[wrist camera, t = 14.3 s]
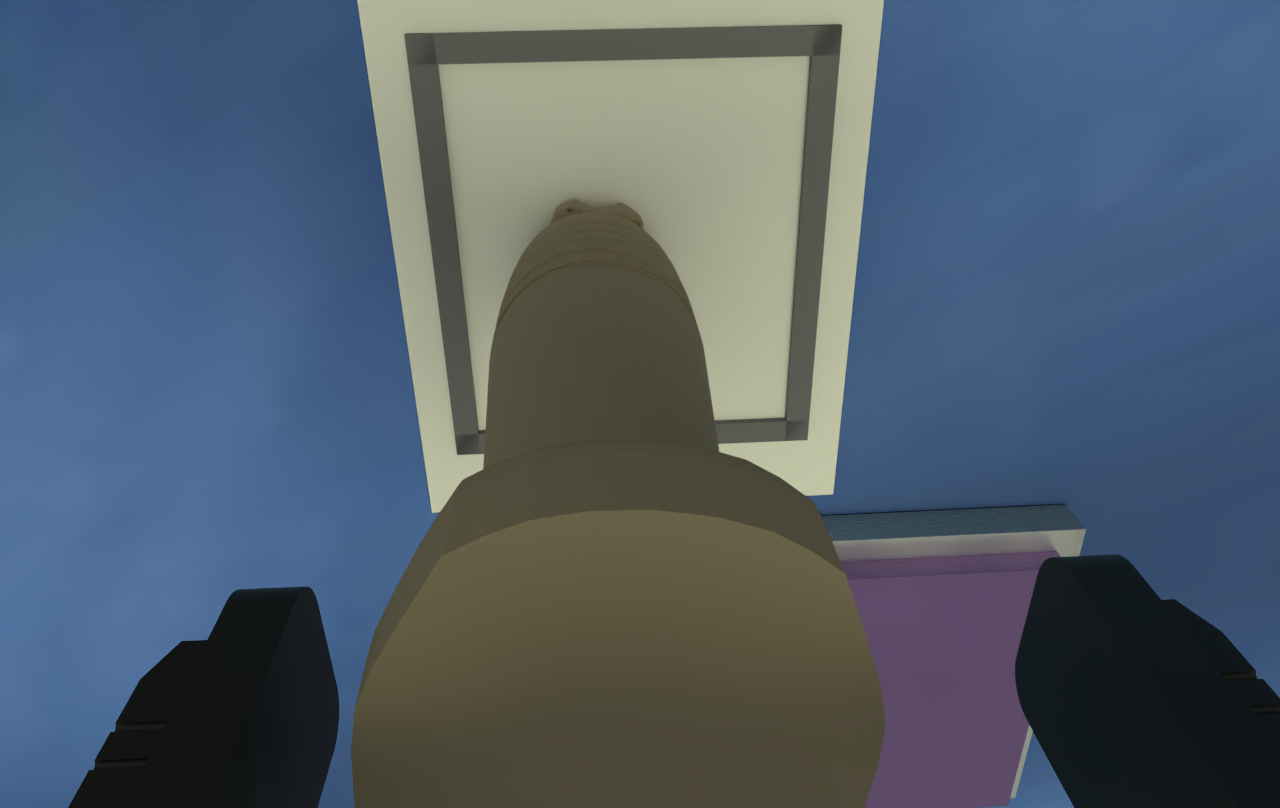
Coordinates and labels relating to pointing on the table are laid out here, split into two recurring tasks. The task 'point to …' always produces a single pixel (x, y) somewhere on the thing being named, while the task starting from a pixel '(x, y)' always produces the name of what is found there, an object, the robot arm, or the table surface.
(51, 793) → the table surface
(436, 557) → the handle
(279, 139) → the table surface
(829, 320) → the marked sheet
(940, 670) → the ink pad
